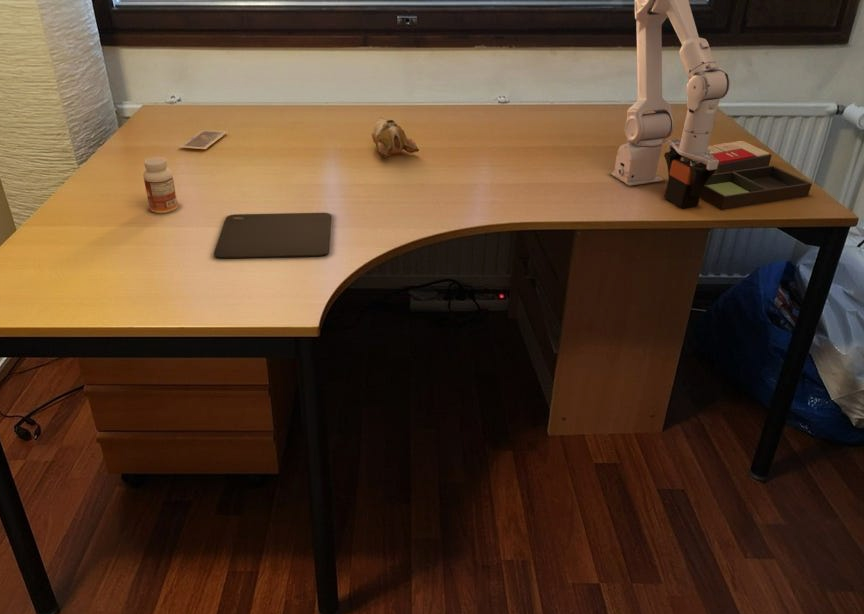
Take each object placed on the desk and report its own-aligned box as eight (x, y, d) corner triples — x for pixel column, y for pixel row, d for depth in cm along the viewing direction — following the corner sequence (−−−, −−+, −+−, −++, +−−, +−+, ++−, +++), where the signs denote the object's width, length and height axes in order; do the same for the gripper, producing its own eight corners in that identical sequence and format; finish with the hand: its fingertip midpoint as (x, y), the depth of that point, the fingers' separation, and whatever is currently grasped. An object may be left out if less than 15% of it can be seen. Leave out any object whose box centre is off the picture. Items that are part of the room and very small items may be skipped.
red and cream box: (692, 147, 187) (742, 138, 190) (689, 163, 190) (739, 154, 193) (720, 161, 178) (773, 151, 182) (717, 178, 181) (769, 168, 184)
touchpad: (229, 135, 209) (228, 127, 208) (206, 153, 197) (204, 145, 195) (203, 133, 210) (202, 125, 209) (179, 150, 198) (177, 142, 197)
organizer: (721, 209, 164) (724, 197, 162) (686, 189, 174) (689, 177, 172) (808, 196, 170) (812, 183, 168) (769, 177, 180) (773, 165, 178)
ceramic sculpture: (399, 108, 198) (422, 128, 187) (399, 139, 204) (421, 160, 193) (362, 113, 195) (383, 133, 184) (362, 145, 201) (382, 166, 190)
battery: (682, 209, 164) (692, 165, 159) (663, 197, 169) (672, 155, 164) (698, 206, 165) (709, 163, 160) (679, 195, 171) (688, 153, 165)
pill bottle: (152, 203, 169) (143, 156, 163) (179, 202, 170) (171, 155, 163) (147, 214, 164) (138, 166, 158) (176, 213, 164) (167, 165, 158)
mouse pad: (331, 213, 163) (331, 212, 163) (328, 256, 146) (328, 254, 146) (227, 215, 163) (227, 214, 163) (212, 258, 146) (212, 257, 146)
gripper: (736, 138, 153) (720, 199, 161) (691, 117, 165) (678, 176, 172) (707, 142, 152) (692, 204, 159) (664, 121, 163) (652, 180, 171)
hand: (683, 190), depth 166 cm, fingers closed on battery, 7 cm apart
